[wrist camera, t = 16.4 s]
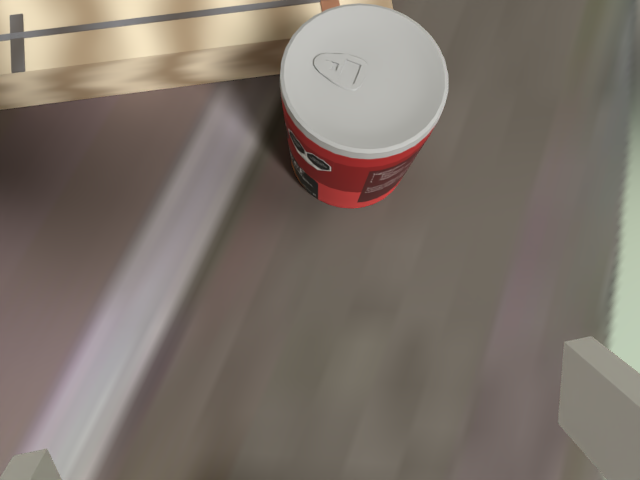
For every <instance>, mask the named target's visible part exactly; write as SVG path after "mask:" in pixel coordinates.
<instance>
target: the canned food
mask: <svg viewBox="0 0 640 480" xmlns="http://www.w3.org/2000/svg"><path fill="white" fill-rule="evenodd" d="M280 90H281V99H282V106H283V113H284V119H285V125H286V131H287V138H288V144H289V150H290V156H291V163H292V167H293V170H294V172H295V175H296V177H297V178H298V180H299V181H300V183H301V185H302V186H303V187H304V188H305V189H306V190H307V191H308V192H309V193H310V194H311V195H313V196H314V197H316V198H317V199H318V200H320V201H323V202H325V203H327V204H329V205H333V206H336V207H340V208H360V207H365V206H369V205H372V204H375V203H376V202H378V201H380V200H382V199H384V198H385V197H386V196H387V195H389V194H390V193H391V192H392V191H393V190H394V188H395V187H396V186H397V185H398V183H399V182H400V180H401V179H402V177H403V176H404V174H405V173H406V171H407V169H408V168H409V166H410V165H411V163H412V162H413V160H414V159H415V157H416V156H417V154H418V153H419V151H420V149H421V148H422V146H423V145H424V143H425V142H426V140H427V139H428V137H429V136H430V134H431V132H432V130H433V128H434V127H435V125H436V124H437V122H438V120H439V117H440V115H441V113H442V111H443V108H444V105H445V102H446V98H447V93H448V72H447V67H446V63H445V60H444V57H443V55H442V53H441V51H440V48H439V47H438V45H437V44H436V42H435V41H434V40H433V38H432V37H431V35H430V34H429V33H428V32H427V31H426V30H425V29H424V28H423V27H421V26H420V25H419V24H418V23H417V22H415V21H414V20H412V19H411V18H409V17H408V16H406V15H404V14H402V13H400V12H397V11H395V10H393V9H391V8H387V7H383V6H379V5H374V4H361V3H357V4H347V5H341V6H337V7H333V8H330V9H327V10H325V11H323V12H321V13H319V14H317V15H315V16H313V17H312V18H310V19H309V20H308V21H306V22H305V23H304V24H302V26H301V27H300V28H299V29H298V30H297V31H296V32H295V33H294V35H293V36H292V37H291V39H290V41H289V43H288V45H287V46H286V48H285V51H284V54H283V58H282V61H281V70H280Z"/></svg>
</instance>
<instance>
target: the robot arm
mask: <svg viewBox="0 0 640 480" xmlns="http://www.w3.org/2000/svg"><path fill="white" fill-rule="evenodd" d="M558 424H559V425H560V426H561V427H562V428H563V430H564V431H565V432H566V433H567V434H568V435H569V436H570V438H571V439H572V440H573V441H574V442H575V443H576V445H577V446H578V447H579V448H580V449H581V450H582V451H583V453H584V454H585V455H586V456H587V457H588V458H589V460H590V461H591V462H592V463H593V464H594V465H595V466H596V468H597V469H598V470H599V471H600V472H601V473H602V474H603V476H604V477H605V478H606V479H607V480H640V374H639V373H638V372H637V371H636V370H634V369H633V368H632V367H630V366H629V365H628V364H627V363H625V362H624V361H623V360H622V359H620V358H619V357H618V356H616V355H615V354H614V353H613V352H611V351H610V350H609V349H607V348H606V347H605V346H604V345H602V344H601V343H600V342H598V341H597V340H596V339H595V338H593V337H592V336H590V337H585V338H581V339H576V340H571V341H566V342H564V352H563V365H562V378H561V390H560V403H559V416H558ZM0 480H62V479H61V477H60V475H59V473H58V471H57V469H56V466H55V464H54V462H53V460H52V458H51V456H50V454H49V452H48V450H47V449H43V450H39V451H34V452H29V453H24V454H19V455H14V456H13V457H12V459H11V461H10V462H9V464H8V465H7V467H6V469H5V470H4V472H3V473H2V475H1V477H0Z"/></svg>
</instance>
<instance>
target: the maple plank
mask: <svg viewBox="0 0 640 480" xmlns="http://www.w3.org/2000/svg"><path fill="white" fill-rule="evenodd" d="M357 3H361V4H374V5H379V6H383V7H387V8H391V9H393V6H392V1H391V0H0V110H3V109H11V108H19V107H26V106H34V105H42V104H50V103H58V102H65V101H73V100H81V99H89V98H97V97H104V96H112V95H120V94H128V93H136V92H143V91H151V90H159V89H167V88H175V87H182V86H190V85H198V84H206V83H214V82H221V81H229V80H237V79H245V78H253V77H260V76H268V75H276V74H280V70H281V61H282V58H283V54H284V51H285V48H286V46H287V45H288V43H289V41H290V39H291V37H292V36H293V35H294V33H295V32H296V31H297V30H298V29H299V28H300V27H301V26H302V24H304V23H305V22H306V21H308V20H309V19H310V18H312V17H313V16H315V15H317V14H319V13H321V12H323V11H325V10H327V9H330V8H333V7H337V6H341V5H347V4H357Z"/></svg>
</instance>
